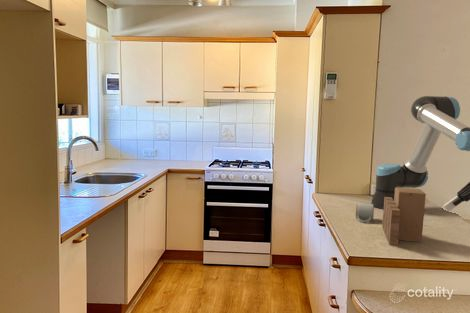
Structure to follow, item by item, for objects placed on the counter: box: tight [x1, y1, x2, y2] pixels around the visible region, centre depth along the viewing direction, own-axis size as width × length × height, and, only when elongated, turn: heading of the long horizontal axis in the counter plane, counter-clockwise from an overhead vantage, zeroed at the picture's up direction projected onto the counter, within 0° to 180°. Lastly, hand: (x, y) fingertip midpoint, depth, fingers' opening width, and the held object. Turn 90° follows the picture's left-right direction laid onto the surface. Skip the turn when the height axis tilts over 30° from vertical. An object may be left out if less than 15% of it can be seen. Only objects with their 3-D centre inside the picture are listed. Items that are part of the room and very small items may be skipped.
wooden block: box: [394, 187, 427, 243], centre depth 160 cm, size 10×10×20 cm
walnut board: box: [381, 197, 400, 247], centre depth 162 cm, size 24×3×14 cm, turn 165°
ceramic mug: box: [355, 203, 375, 224], centre depth 185 cm, size 11×8×8 cm
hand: (445, 208), depth 155 cm, fingers closed
